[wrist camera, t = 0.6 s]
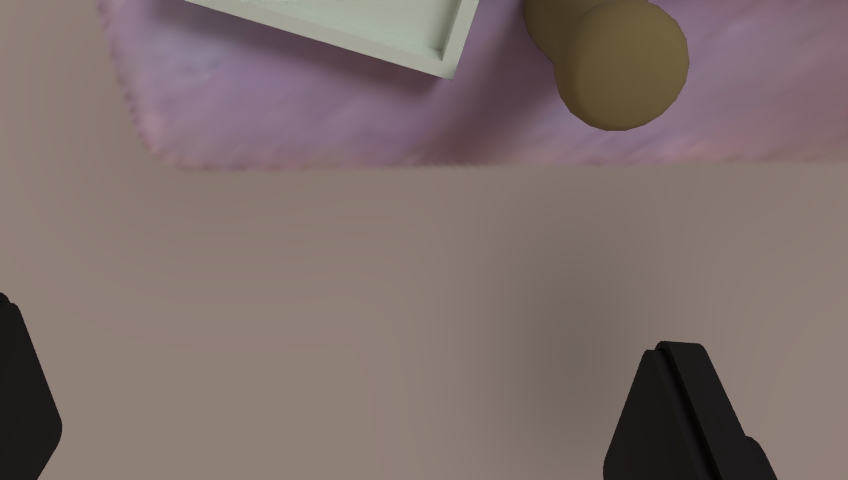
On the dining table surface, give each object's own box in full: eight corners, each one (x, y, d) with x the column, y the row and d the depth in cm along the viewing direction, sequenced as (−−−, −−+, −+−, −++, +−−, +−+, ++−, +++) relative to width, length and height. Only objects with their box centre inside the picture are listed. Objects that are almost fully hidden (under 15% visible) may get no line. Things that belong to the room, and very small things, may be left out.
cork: (665, -24, 33) (747, 46, 24) (597, 79, 36) (647, 175, 27) (563, -81, 32) (610, -29, 22) (502, 31, 35) (521, 115, 26)
